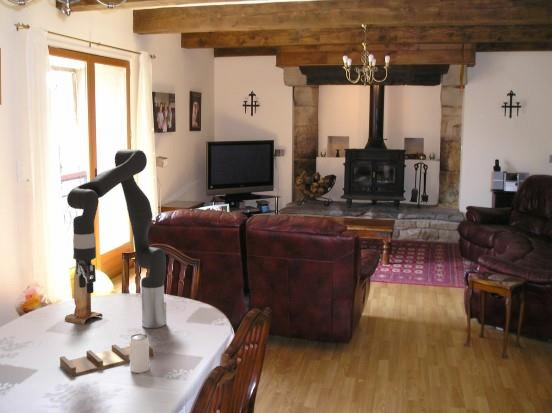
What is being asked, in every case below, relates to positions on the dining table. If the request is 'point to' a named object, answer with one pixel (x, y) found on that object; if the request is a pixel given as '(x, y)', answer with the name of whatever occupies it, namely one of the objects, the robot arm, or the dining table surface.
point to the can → (139, 353)
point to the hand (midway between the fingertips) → (86, 290)
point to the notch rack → (98, 360)
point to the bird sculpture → (81, 304)
